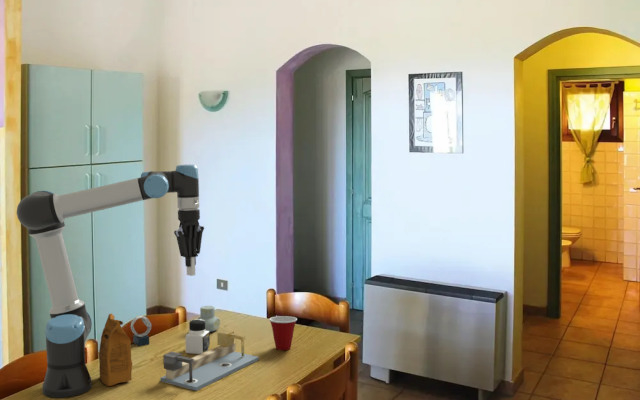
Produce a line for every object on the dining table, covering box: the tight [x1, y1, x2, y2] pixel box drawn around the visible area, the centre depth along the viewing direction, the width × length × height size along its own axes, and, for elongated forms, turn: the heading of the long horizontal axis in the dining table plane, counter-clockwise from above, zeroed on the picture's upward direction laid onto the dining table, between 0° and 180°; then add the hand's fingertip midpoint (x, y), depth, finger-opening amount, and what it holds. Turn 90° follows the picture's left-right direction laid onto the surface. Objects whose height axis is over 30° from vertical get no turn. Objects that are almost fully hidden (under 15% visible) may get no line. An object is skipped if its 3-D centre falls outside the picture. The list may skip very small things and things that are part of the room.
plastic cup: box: [269, 315, 298, 351], centre depth 261 cm, size 11×11×12 cm
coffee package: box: [98, 313, 133, 387], centre depth 228 cm, size 10×12×22 cm
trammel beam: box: [163, 342, 237, 382], centre depth 239 cm, size 34×11×8 cm, turn 148°
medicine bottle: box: [185, 318, 211, 355], centre depth 258 cm, size 7×7×12 cm
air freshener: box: [197, 305, 221, 333], centre depth 284 cm, size 11×8×10 cm
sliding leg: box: [216, 329, 246, 356], centre depth 250 cm, size 4×11×8 cm, turn 58°
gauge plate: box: [160, 351, 260, 392], centre depth 238 cm, size 34×16×1 cm, turn 148°
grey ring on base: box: [130, 315, 153, 347], centre depth 267 cm, size 6×8×11 cm
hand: (191, 275), depth 238 cm, fingers closed
